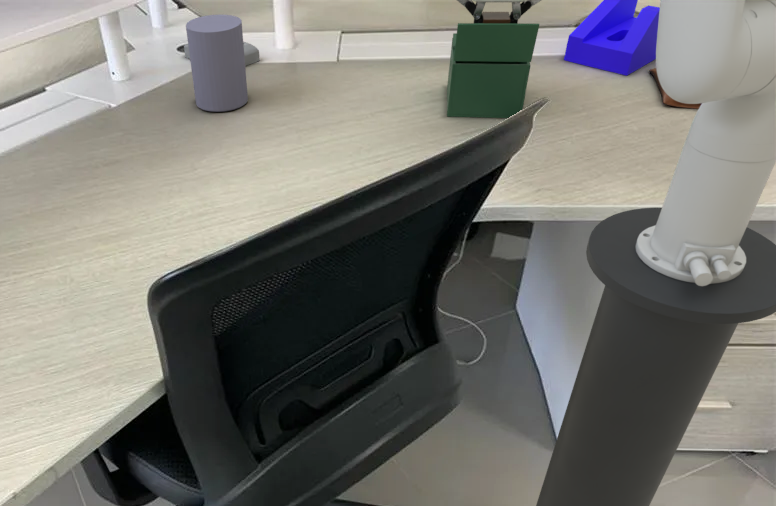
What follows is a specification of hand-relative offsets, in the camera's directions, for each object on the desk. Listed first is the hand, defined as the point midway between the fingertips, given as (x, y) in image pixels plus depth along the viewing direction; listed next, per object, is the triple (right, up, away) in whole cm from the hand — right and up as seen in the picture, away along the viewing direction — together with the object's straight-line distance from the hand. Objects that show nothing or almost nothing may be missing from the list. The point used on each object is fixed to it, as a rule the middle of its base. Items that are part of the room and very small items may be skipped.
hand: (492, 40), depth 122 cm
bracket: (+35, +8, +26) cm, 44 cm away
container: (-48, -5, +17) cm, 52 cm away
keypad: (-50, +11, +36) cm, 62 cm away
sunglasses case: (+38, -5, +10) cm, 40 cm away
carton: (+1, -7, +10) cm, 13 cm away
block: (0, 0, 0) cm, 0 cm away
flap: (-1, -2, -4) cm, 5 cm away
